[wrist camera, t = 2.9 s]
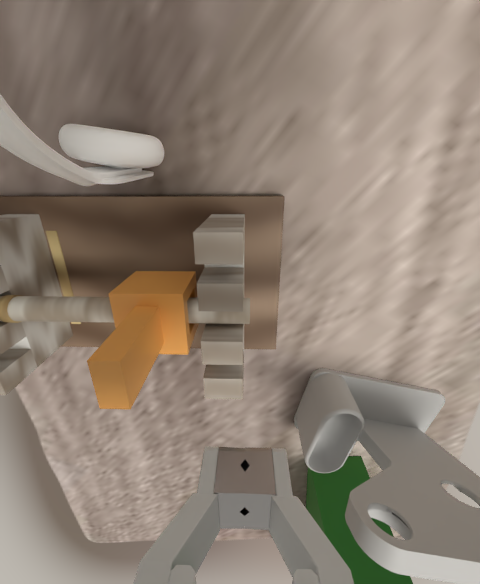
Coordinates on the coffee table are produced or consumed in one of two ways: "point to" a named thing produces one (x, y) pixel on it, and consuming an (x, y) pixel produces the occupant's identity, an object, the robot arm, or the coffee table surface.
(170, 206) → the cord comb board
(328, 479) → the hardback book
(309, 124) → the coffee table surface
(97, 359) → the sleeve
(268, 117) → the coffee table surface
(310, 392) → the phone holder
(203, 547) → the robot arm
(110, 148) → the headset
